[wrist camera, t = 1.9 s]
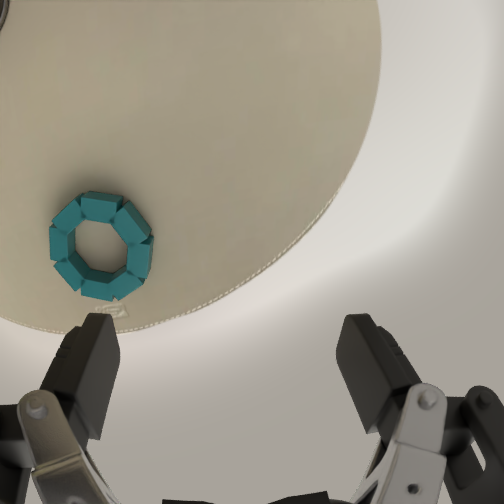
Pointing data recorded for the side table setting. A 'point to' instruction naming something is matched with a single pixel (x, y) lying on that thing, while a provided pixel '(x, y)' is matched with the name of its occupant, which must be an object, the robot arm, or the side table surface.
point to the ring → (125, 225)
